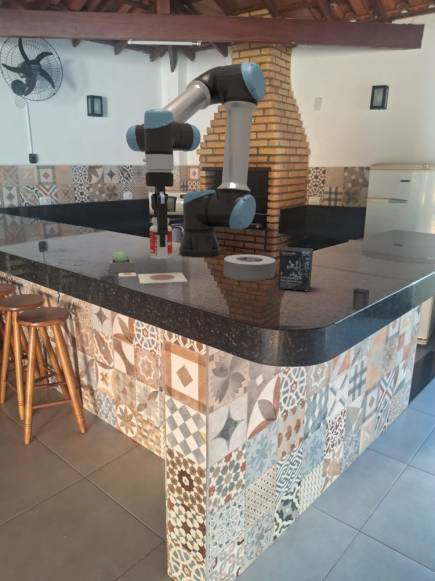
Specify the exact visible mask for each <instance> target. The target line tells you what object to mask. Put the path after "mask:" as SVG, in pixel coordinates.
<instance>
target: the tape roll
mask: <svg viewBox="0 0 435 581" xmlns="http://www.w3.org/2000/svg"><path fill="white" fill-rule="evenodd" d="M223 276H224V277H226V278H228V279H231V280H237V281H246V282H247V281H248V282H249V281H250V282H251V281H252V282H253V281H254V282H255V281H256V282H259V281H266V279H268V280H271V279H273V278H275V276H276V259H275V258H274V257H270V256H266V255H260V254H259V255H258V254H233V255H227V256H225V257H224V258H223ZM270 278H271V279H270Z"/></svg>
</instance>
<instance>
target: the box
mask: <svg viewBox="0 0 435 581" xmlns="http://www.w3.org/2000/svg"><path fill="white" fill-rule="evenodd" d="M313 254H314V249H313V247H312V248H309V247H308V248H307V247H294V246H293V247H291V246H283V247H281V249H280V250H279V264H278V266H279V268H278V269H279V270H278V285H277V286H278V287H277V288H279V289H278V290H285V289H293V290H292V291H296V290H308V289H309V290H310V288H311V284H312V269H313V256H314V255H313ZM309 287H310V288H309ZM295 289H296V290H295ZM309 290H308V291H309Z"/></svg>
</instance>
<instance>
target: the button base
mask: <svg viewBox="0 0 435 581" xmlns="http://www.w3.org/2000/svg"><path fill="white" fill-rule="evenodd" d="M108 266H109V274H119V273H135V271H134V268H135V267H134V259H133V258H128V262H123V263H115V261H114V259H113V258H112V259H111V258H110V259H109V265H108Z"/></svg>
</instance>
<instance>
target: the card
mask: <svg viewBox="0 0 435 581" xmlns="http://www.w3.org/2000/svg"><path fill="white" fill-rule="evenodd" d="M126 277H127V278H129V277H130V278H131V277H132V278H133V277H135V278H136V277H137V273H136V272H134V273H118V278H126Z"/></svg>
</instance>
